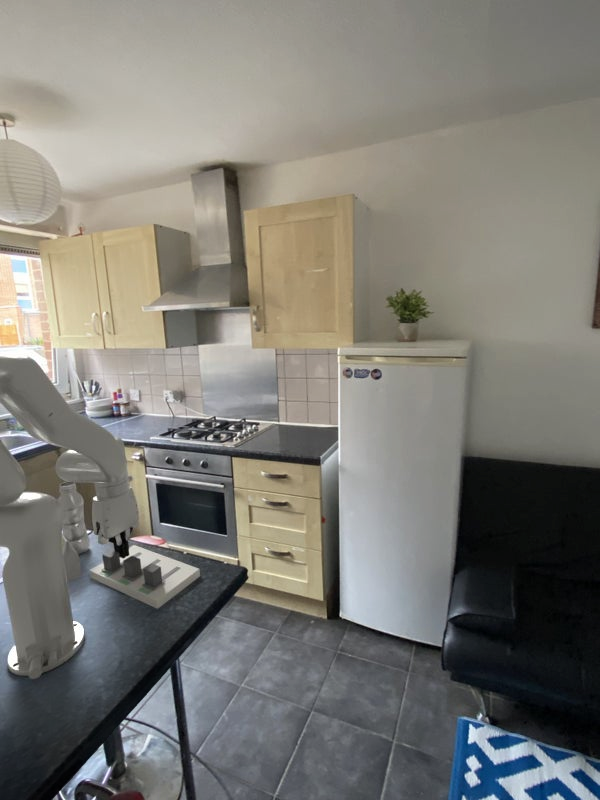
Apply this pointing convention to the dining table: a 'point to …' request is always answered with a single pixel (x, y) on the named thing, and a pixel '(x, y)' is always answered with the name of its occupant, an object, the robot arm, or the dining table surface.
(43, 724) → the dining table surface
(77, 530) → the plastic bottle
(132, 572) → the block
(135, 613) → the dining table surface
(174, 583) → the panel
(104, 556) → the block
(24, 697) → the dining table surface
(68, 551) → the white printed box
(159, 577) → the breaker near
